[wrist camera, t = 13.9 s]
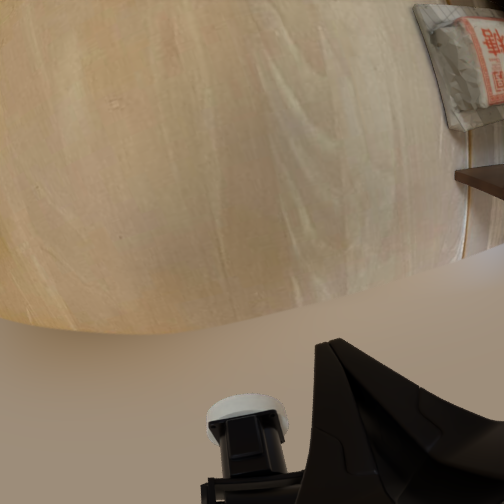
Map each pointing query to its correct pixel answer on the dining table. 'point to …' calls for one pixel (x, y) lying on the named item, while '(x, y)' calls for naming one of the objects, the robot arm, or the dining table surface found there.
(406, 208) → the dining table surface
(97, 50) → the dining table surface
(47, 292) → the dining table surface
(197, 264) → the dining table surface
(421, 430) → the robot arm
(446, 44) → the packaged product
